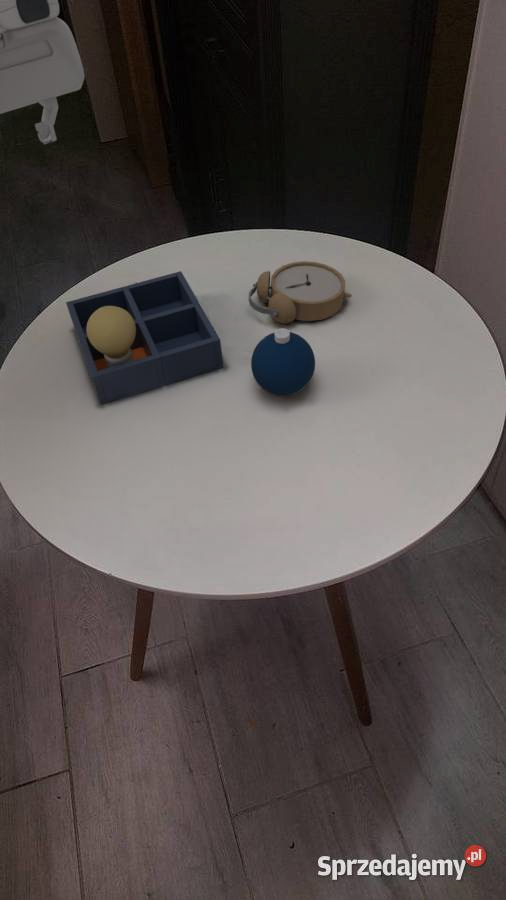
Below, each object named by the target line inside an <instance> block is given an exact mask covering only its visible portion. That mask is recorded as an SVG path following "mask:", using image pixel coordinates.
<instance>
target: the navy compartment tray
mask: <svg viewBox="0 0 506 900" xmlns="http://www.w3.org/2000/svg"><path fill="white" fill-rule="evenodd" d="M65 305H66V307H67V310H68V314H69V317H70V320H71V323H72V326H73V328H74V331H75V334H76V337H77V341H78V343H79V346H80V349H81V352H82V354H83V358H84V361H85V363H86V366H87V369H88V372H89V375H90V378H91V381H92V383H93V386H94V389H95V393H96V395H97V398H98V401H99V404H100V405H105V404H109V403H111V402H114V401H117V400H121V399H124V398H128V397H131V396H135V395H138V394H141V393H145V392H147V391H151V390H155V389H157V388H160V387H161V388H162V387H164V386H167V385H171V384H173V383H177V382H181V381H183V380H187V379H191V378H193V377H197V376H200V375H203V374H206V373H210V372H213V371H216V370H220V369H223V368H224V361H223V353H222V343H221V338H220V337H219V335H218V333H217V331H216V329H215V328H214V326H213V325H212V323H211V320H210V319H209V317H208V316H207V313H206V312H205V310H204V308H203V307H202V305H201V303H200V302H199V300H198V298H197V296H196V295H195V293H194V291H193V289H192V288H191V286H190V284H189V283H188V281H187V279H186V277H185V276H184V274H183V272H182V271H181V270H180V271H175V272H172V273H169V274H166V275H162V276H158V277H154V278H150V279H147V280H143V281H139V282H136V283H132V284H128V285H124V286H121V287H118V288H113V289H110V290H106V291H103V292H98V293H94V294H91V295H88V296H83V297H81V298H77V299H72V300H69V301H66V302H65ZM104 306H116V307H120V308H122V309H124V310H126V311H127V312H128V313H129V314H130V315H131V316H132V318H133V320H134V322H135V326H136V335H135V339H134V342H133V344H132V345H131V347H130V349H131V352H132V356H133V360H134V361H130V362H127V363H123V364H120V365H117V366H113V367H110V368H107V364H106V360H105V358H104V354H103V353H101V352H100V351H98V350H97V349H96V348H95V347H94V346H93V345H92V344H91V343H90V341H89V339H88V336H87V322H88V320H89V318H90V316H91V315H92V314H93V313H94V312H95V311H96V310H98V309H99V308H101V307H104Z"/></svg>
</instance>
